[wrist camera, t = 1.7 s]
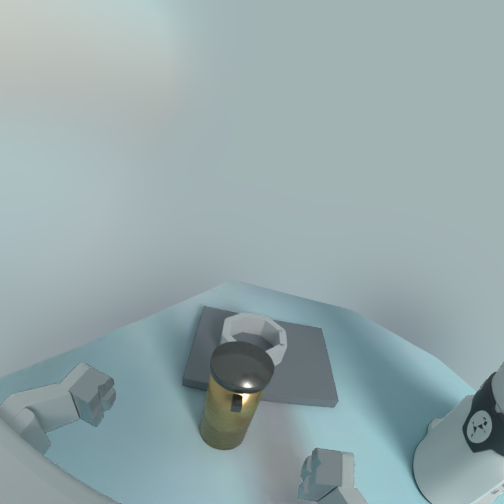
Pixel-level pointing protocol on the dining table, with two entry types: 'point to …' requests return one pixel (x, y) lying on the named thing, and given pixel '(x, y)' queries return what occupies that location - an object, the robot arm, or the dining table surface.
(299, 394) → the socket base
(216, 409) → the cylinder
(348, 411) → the dining table surface
